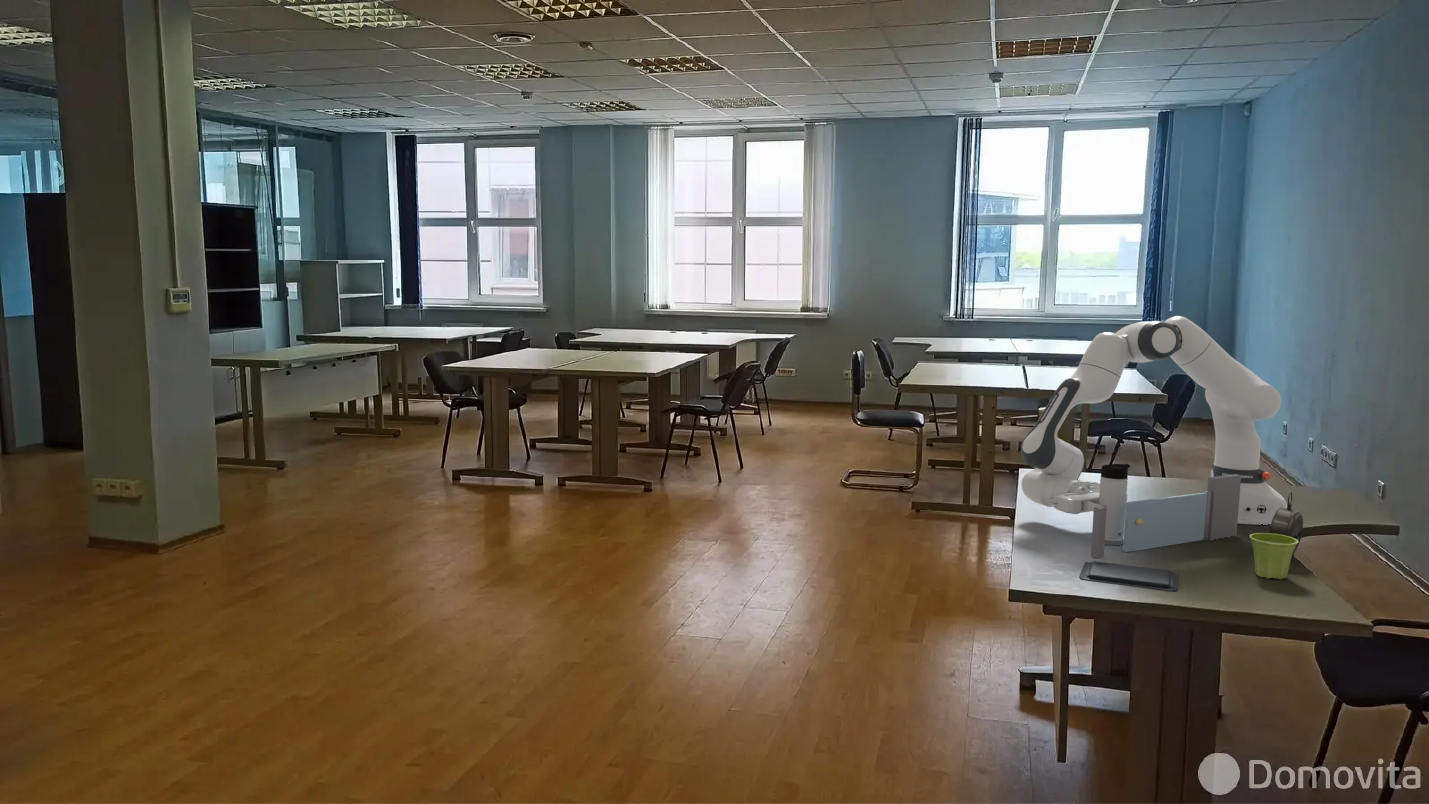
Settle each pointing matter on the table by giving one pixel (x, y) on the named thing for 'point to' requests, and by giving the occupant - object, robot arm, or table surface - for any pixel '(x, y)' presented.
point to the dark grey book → (1130, 576)
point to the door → (1166, 521)
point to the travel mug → (1114, 500)
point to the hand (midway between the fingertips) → (1115, 507)
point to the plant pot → (1272, 554)
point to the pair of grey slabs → (1220, 515)
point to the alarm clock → (1287, 523)
